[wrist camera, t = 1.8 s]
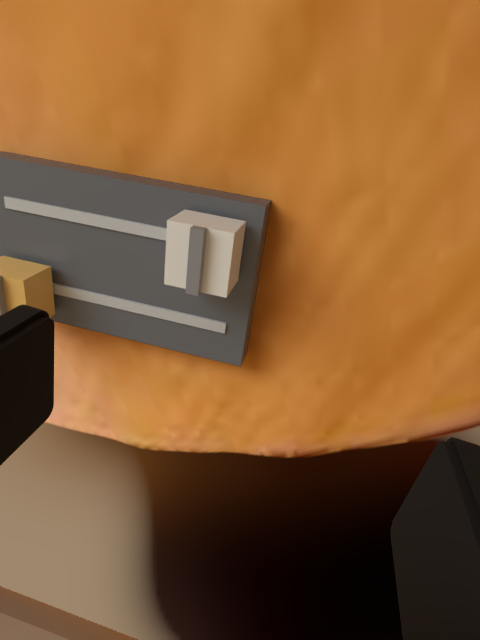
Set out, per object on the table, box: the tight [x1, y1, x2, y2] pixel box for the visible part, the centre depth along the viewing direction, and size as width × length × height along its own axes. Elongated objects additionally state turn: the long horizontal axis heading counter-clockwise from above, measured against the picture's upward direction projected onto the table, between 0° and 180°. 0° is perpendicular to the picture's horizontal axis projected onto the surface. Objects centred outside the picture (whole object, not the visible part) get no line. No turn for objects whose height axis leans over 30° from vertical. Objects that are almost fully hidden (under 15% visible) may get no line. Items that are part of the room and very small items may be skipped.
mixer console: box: [0, 151, 271, 367], centre depth 31 cm, size 20×12×2 cm, turn 82°
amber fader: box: [0, 256, 55, 318], centre depth 30 cm, size 4×4×4 cm
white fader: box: [164, 210, 246, 298], centre depth 26 cm, size 4×4×4 cm
